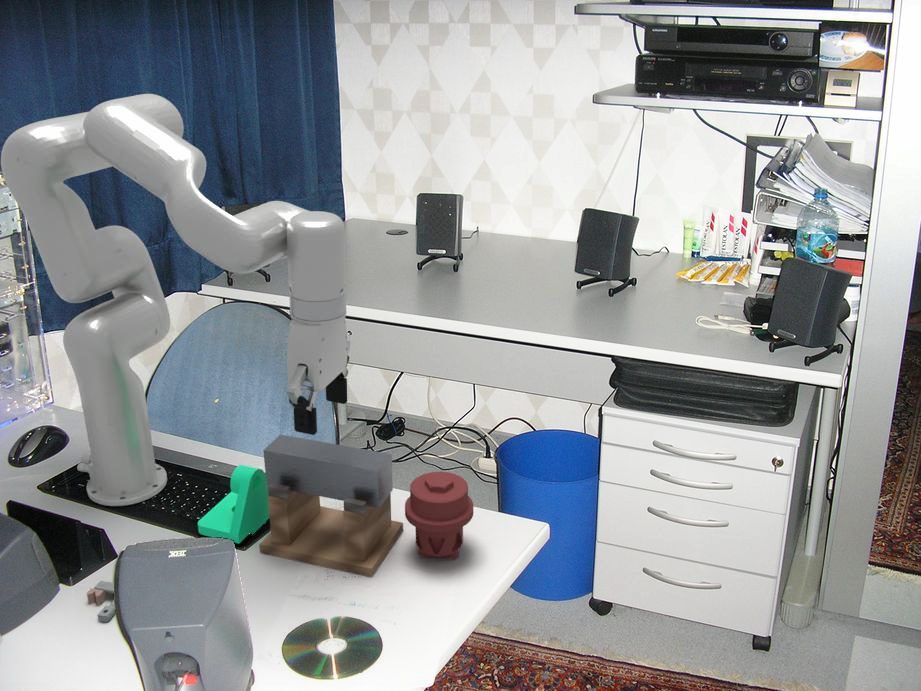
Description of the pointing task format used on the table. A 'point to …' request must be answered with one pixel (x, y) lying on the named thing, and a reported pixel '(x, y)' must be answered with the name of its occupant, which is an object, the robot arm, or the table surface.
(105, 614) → the clamp
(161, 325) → the robot arm
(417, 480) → the mechanical component
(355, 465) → the matte grey brick
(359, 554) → the rack
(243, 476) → the camera mount
